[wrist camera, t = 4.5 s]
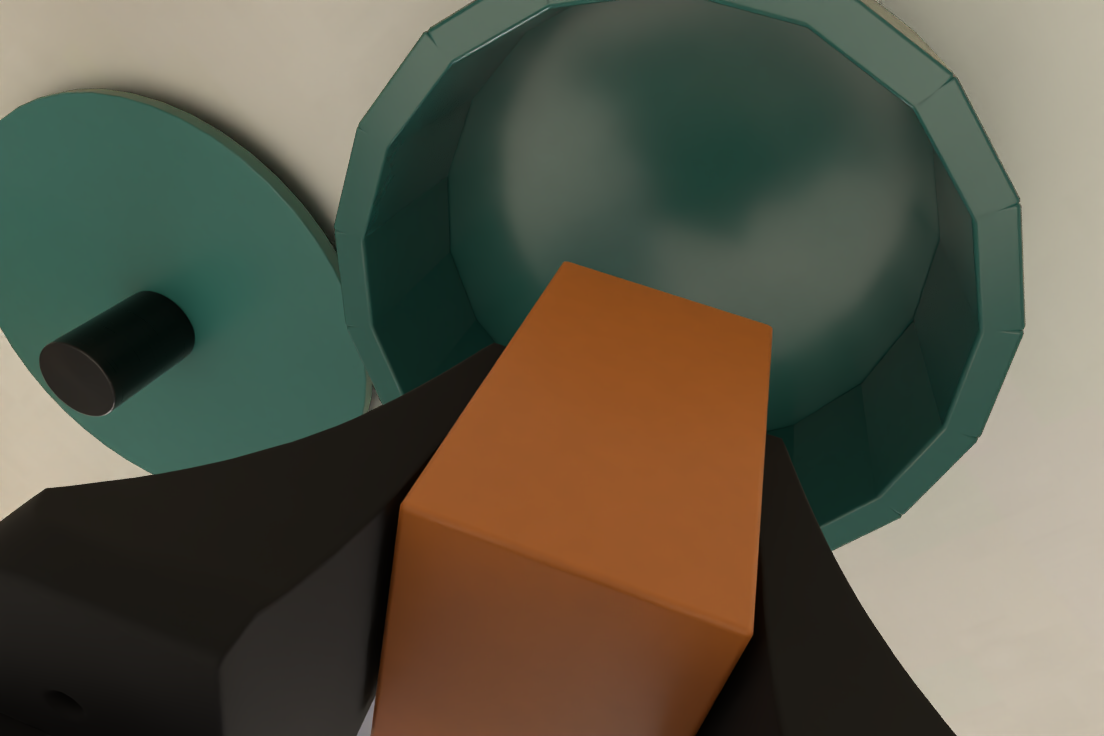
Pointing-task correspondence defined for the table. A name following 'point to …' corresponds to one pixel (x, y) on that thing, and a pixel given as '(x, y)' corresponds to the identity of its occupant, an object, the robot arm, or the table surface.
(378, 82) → the table surface
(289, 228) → the tin lid
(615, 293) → the orange rectangular block
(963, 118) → the lunch tin
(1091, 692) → the table surface
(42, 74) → the table surface
